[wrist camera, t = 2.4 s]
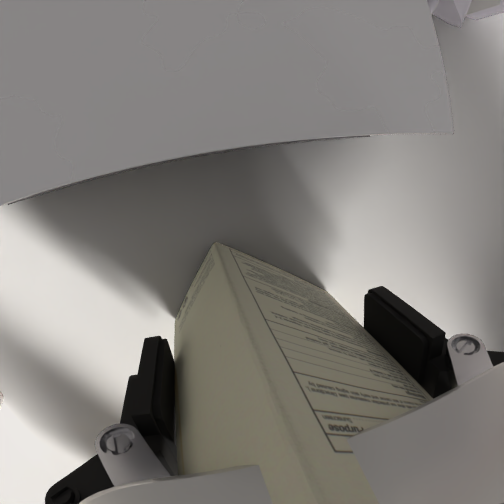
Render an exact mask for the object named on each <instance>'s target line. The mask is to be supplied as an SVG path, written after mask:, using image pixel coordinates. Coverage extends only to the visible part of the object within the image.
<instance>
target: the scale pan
mask: <svg viewBox="0 0 504 504" xmlns="http://www.w3.org/2000/svg"><path fill="white" fill-rule="evenodd" d="M391 134H454V128H453V119H452V111H451V104H450V97H449V91H448V85H447V79H446V74H445V69H444V64H443V59H442V54H441V50H440V46H439V41H438V37H437V34H436V30H435V26H434V22H433V19H432V15H431V12H430V9H429V6H428V2H427V0H0V206H3V205H6V204H8V203H11V202H14V201H17V200H20V199H23V198H26V197H29V196H32V195H35V194H38V193H41V192H45V191H48V190H51V189H54V188H58V187H61V186H65V185H68V184H71V183H75V182H79V181H82V180H86V179H90V178H93V177H97V176H101V175H105V174H109V173H113V172H117V171H121V170H125V169H130V168H134V167H138V166H143V165H147V164H152V163H157V162H162V161H166V160H171V159H177V158H182V157H187V156H193V155H198V154H204V153H210V152H216V151H222V150H228V149H235V148H242V147H249V146H256V145H264V144H272V143H280V142H289V141H299V140H309V139H320V138H333V137H347V136H365V135H391Z"/></svg>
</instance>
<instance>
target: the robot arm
mask: <svg viewBox="0 0 504 504" xmlns="http://www.w3.org/2000/svg"><path fill="white" fill-rule="evenodd" d="M364 329H365V330H366V331H367V332H368V333H369V334H370V335H371V336H372V337H373V338H374V339H375V340H376V341H377V342H378V343H379V344H380V345H381V346H382V347H383V348H384V349H385V350H386V351H387V352H388V353H389V354H390V355H391V356H392V357H393V358H394V359H395V360H396V361H397V362H398V363H399V364H400V365H401V366H402V367H403V368H404V369H405V370H406V371H407V372H408V373H409V374H410V375H411V376H412V377H413V378H414V379H415V380H416V381H417V382H418V383H419V384H420V385H421V386H422V388H423V389H424V390H425V391H426V392H427V393H428V394H429V395H430V396H431V397H432V398H433V399H432V400H430V401H428V402H426V403H424V404H422V405H420V406H418V407H416V408H414V409H412V410H409V411H407V412H405V413H403V414H400V415H398V416H396V417H394V418H391V419H389V420H387V421H384V422H382V423H379V424H377V425H374V426H372V427H369V428H367V429H365V430H363V431H361V432H360V433H358V434H356V435H354V436H352V437H350V438H348V439H346V440H347V442H348V443H349V445H350V447H351V449H352V451H353V453H354V455H355V457H356V459H357V461H358V463H359V465H360V467H361V469H362V471H363V473H364V475H365V477H366V479H367V481H368V483H369V485H370V487H371V488H372V490H373V492H374V494H375V496H376V498H377V500H378V502H379V504H504V352H495V351H487V350H486V348H485V345H484V343H483V342H482V340H480V339H479V338H478V337H476V336H474V335H470V334H457V335H454V336H452V337H451V338H450V339H449V340H448V339H446V338H445V334H446V333H445V332H444V331H443V330H441V329H440V328H439V327H437V326H436V325H435V324H433V323H432V322H431V321H430V320H428V319H427V318H426V317H424V316H423V315H422V314H420V313H419V312H418V311H416V310H415V309H414V308H412V307H411V306H410V305H408V304H407V303H405V302H404V301H403V300H401V299H400V298H399V297H397V296H396V295H395V294H393V293H392V292H390V291H389V290H388V289H386V288H385V287H383V286H380V287H377V288H373V289H369V291H368V294H366V295H365V297H364ZM95 448H96V451H97V453H98V454H97V455H95V456H94V457H93V458H91V459H90V460H88V461H87V462H86V463H84V464H83V465H81V466H80V467H79V468H77V469H76V470H74V471H73V472H72V473H70V474H69V475H67V476H66V477H64V478H63V479H61V480H60V481H58V482H57V483H55V484H54V485H53V486H52V487H51V488H50V489H49V490H48V492H47V493H46V497H45V504H273V503H272V500H271V498H270V495H269V492H268V490H267V487H266V484H265V481H264V478H263V476H262V473H261V470H260V467H259V465H242V466H234V467H229V468H223V469H218V470H212V471H206V472H200V473H193V474H186V475H178V462H177V444H176V419H175V362H174V359H173V356H172V353H171V350H170V347H169V344H168V341H167V339H162V338H161V337H160V336H155V337H149V338H145V340H144V344H143V349H142V354H141V359H140V365H139V370H138V375H131V376H130V377H129V380H128V385H127V390H126V395H125V400H124V405H123V410H122V416H121V421H120V424H115V425H112V426H109V427H107V428H106V429H104V430H103V431H102V432H101V433H100V434H99V435H98V436H97V438H96V441H95Z"/></svg>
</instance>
